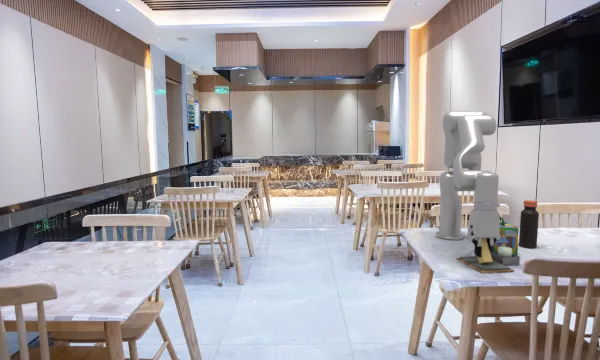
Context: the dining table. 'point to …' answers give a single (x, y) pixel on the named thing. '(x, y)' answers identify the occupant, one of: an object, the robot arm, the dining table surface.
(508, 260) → the button housing
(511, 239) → the chalk box
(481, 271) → the slate board
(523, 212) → the bottle
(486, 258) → the chalk stick
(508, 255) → the button cap
